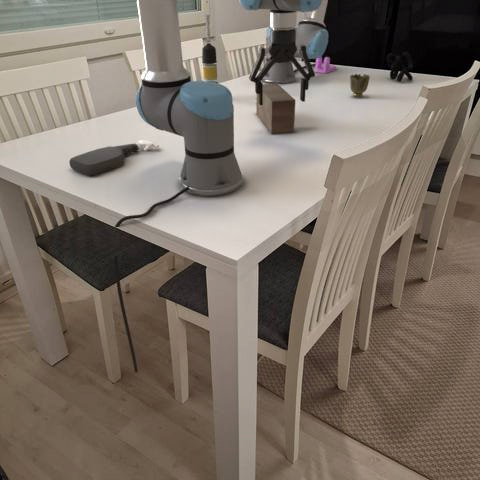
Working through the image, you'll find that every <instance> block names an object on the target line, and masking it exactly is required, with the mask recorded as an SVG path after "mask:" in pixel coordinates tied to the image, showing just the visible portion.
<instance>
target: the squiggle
mask: <svg viewBox="0 0 480 480" xmlns="http://www.w3.org/2000/svg"><path fill="white" fill-rule="evenodd" d="M401 57H402V59H401ZM391 59H392V60H391ZM393 60H394V61H393ZM385 61H386V64H387V67H390V68H391V70H390V72H389V78H390V79H391V80H395V79H396V81H397V82H399V83H400V82H402V81H403V79H404V76H406V78H407V80H408V81H412V80H413V79H414V77H413V75H412V74H411V73H410V72H409V71H410V70H412V69H413V68H414V64H413V61H412V57H411V54H410V53H409V52H408V51H403V53H402V54H401V55H396V54H394V53H392V52H390V53H387V55H386V57H385ZM406 62H407V65H408V66H407V67H405V66H404V65H405V64H406ZM400 70H401V71H400Z"/></svg>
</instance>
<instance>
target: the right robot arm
mask: <svg viewBox="0 0 480 480" xmlns="http://www.w3.org/2000/svg"><path fill="white" fill-rule="evenodd" d="M328 1H329V0H322V3H321V5H320V7H319V8H318V9H317V10H315V11H313V12H303V17H302V18H301V20H299V21H298V24H297V27H294V29H295V30H296V46H300V45H301V44H303V45H305V46H306V53H307V56H308V58H309V60H316V59H318V58H320V57H323V55H324V53H325V51H326V49H327V47H328V44H329V31H328V30H327V26H326V24H325V22H324V21H325V16H326V12H327V6H328ZM271 29H272V28H271V27H270V26H268V27H267V28H266V32H265V33H266V34H265V48H269V47H270V30H271ZM270 57H271V55H270V54H269V52H268V53H267V55H266V56H265V64H266V63H267V62H268V60H269V58H270ZM294 57H295V58H296V59H297V58H298V59H302V56H301V53H299V52H298V50H297V51H296V53H295V54H294ZM322 64H324V60H322ZM293 65H294V64H293V63H292V62H291V61H289V62H288V63H285V62H282V63H277V62H276V63H275V64H274V65H273V66H272V67H271V68H270V70H269V71H268V72H267V74H266V75H265V76H264V78H263V79H262V80H261V82H262V83H265V84H276V83H277V84H278V85H283V84H290V83H293V82H295V81H296V73H297V72H299V71H298V69H297V68H296V69H294V66H293ZM311 65H312V67H316V62H315V63H311ZM301 67H302V68H303V69H304V70H305V69H307V68H306V66H305V65H304V66H301Z"/></svg>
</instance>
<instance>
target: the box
mask: <svg viewBox="0 0 480 480" xmlns="http://www.w3.org/2000/svg"><path fill="white" fill-rule="evenodd" d="M255 100H256V103H255V104H256V107H255V108H256V116H257V117H258V118H259V120H260V122H262V123H263V125H264V126H265V128H266V129H267V130H268V132H269V133H270V134H271V135H278V134H290V133H292V134H293V133H295V120H296V119H295V118H296V117H295V116H296V99H295V98H294V97H293V96H291V94H289V92H287V91H286V89H284V88H283V87H281V85H280V84H277V83H276V84H273V83H263V105H260V104H259V103H258V94H256V99H255Z"/></svg>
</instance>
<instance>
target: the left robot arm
mask: <svg viewBox="0 0 480 480" xmlns="http://www.w3.org/2000/svg"><path fill="white" fill-rule="evenodd" d="M238 2H239V4H240V6H241V7H242V9H244V10H246V11H258V10H270V11H269V12H270V15H269V27H271V28H272V29H271V30H270V47H269V48H266V47H263V46H260V47H259V49H258V56H257V57H256V60H255V62H254V65H253V67H252V69H251V71H250V74H249V76H248V79H249V81H250V82H252V83H254V93H255V95H257V94H258V103H259V104H260V105H263V84H264V82H263V81H262V79H263V78H264V76H265V75H266V74H267V72H268V71H269V70H270V68H271V67H272V66H273V65H274V64H275V63H276V62H277V63H282V62H285V63H288V62H289V61H291V62H292V65H294V66H293V67H295V68H296V69H298V71H297V72H299V74H300V75H301V76H302V77H301V78H300V91H299V92H300V93H299V100H300V102H302V103H305V102H306V91H309V87H310V86H309V85H310V84H309V82H310V80H311V78H314V77H316V72H315V69H313V68H314V67H313V66H312V65H311V64H312V63H311V61H310V59H309V58H308V56H307V53H306V46H305V45H303V44H301V45H300V46H296V30H295V29H294V28H297V13H299V12H300V13H305V12H313V11H315V10H317V9H318V8H319V7H320V5H321V3H322V0H238ZM136 5H137V10H138V11H137V12H138V16H139V18H138V19H139V24H140V33H141V40H142V46H143V53H144V61H145V68H146V69H145V70H144V72H143V73H142V74H141V84H140V85H139V86H138V91H137V92H136V96H135V107H136V109H137V112H138V114H139V116H140V118H141V119H142V120H143V121H144V122H145V123H146V124H147V125H149V126H151V127H153V128H155V129H156V130H159V131H164V132H167V133H171V134H173V135H177V136H179V137H182V138H183V141H184V142H183V143H184V154H185V155H184V158H183V164H182V168H181V171H180V177H179V183H180V184H179V185H180V188H181V189H180V191H178V192H177V193H175V194H174V195H173V196H171V197H170V198H167V199H165V200H162V201H158V202H156V203H154V204H153V205H152V204H151V206H150V207H149V209H148V210H147V211H145V212H143V213H141V214H133V215H131V214H130V215H127V216H126V215H125V216H124V217H122V218H119V220H118V221H117V223H116V224H115V226H114V228H119V227H120V226H121V225H122V223H124V222H125V221H128V220H135V219H136V220H137V219H141V218H145V217H148V216H149V215H150V214H151V213H152V212H153V210H154V209H156V208H157V207H159V206H162V205H165V204H169V203H170V202H172V201H174V200H175V199H177V198H178V197H181V195H182V194H184V193H185V192H186V193H187V194H190V195H194V196H199V197H221V196H224V195H229V194H232V193H234V192H235V191H237V190H239V189H240V188H241V187H242V185H243V174H242V171H241V168H240V165H239V163H238V160H237V157H236V154H235V125H234V124H235V121H234V119H235V115H234V114H235V113H234V112H235V110H234V109H235V106H234V102H233V95H232V92H231V90H230V89H229V87H227V86H226V85H223V84H221V83H219V82H218V83H215V82H216V81H215V82H207V81H206V80H193V81H192V78H191V72H190V71H189V70H188V69H187V68H185V66H184V61H183V51H182V39H181V31H180V20H179V9H178V0H136ZM297 50H298V52H299V53H301V56H302V58H301V59H302V61H303V63H304V66H306V68H304V69H303V68H302V67H303V66H302V65H301V64H300V62H299V61H298V59H297V58H296V57H294V54H295V53H296V51H297ZM268 52H269V54H270V55H271V57H270V58H269V60H268V62H267V63H266V62H265V64H264V66H263V67H262V68H261V66H262V64H263V62H264V59H265V57H266V55H267V53H268ZM260 68H261V70H260ZM305 69H306V70H305ZM306 71H307V72H306ZM113 261H114V273H115V281H116V288H117V294H118V299H119V305H120V310H121V314H122V319H123V323H124V327H125V332H126V336H127V340H128V345H129V349H130V354H131V359H132V364H133V370H134V373H138V371H139V369H138V364H137V359H136V354H135V350H134V345H133V340H132V336H131V331H130V326H129V323H128V317H127V313H126V308H125V304H124V298H123V293H122V287H121V279H120V269H119V257H118V256H117V255H114V257H113Z"/></svg>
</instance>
